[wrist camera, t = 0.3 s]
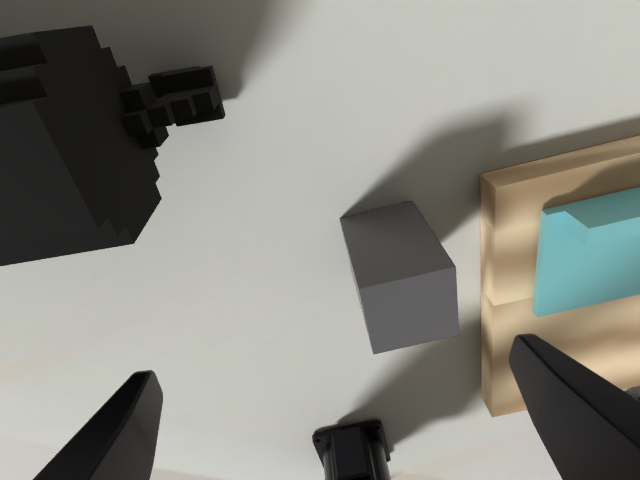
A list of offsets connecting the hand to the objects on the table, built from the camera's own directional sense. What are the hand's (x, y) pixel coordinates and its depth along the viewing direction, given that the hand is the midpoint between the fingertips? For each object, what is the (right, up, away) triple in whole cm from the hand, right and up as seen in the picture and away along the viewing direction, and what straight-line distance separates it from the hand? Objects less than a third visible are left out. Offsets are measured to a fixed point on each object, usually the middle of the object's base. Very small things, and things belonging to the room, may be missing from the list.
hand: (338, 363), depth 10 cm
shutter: (+17, +2, +15) cm, 22 cm away
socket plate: (+18, 0, +19) cm, 26 cm away
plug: (+3, +3, +16) cm, 16 cm away
